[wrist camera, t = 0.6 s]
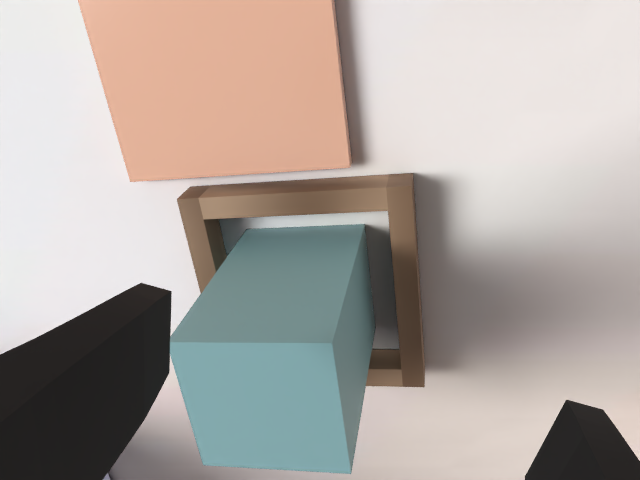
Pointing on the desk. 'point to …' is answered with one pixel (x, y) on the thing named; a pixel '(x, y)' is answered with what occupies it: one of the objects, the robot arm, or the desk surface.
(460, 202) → the desk surface
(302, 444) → the teal block
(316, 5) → the terracotta tile
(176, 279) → the desk surface
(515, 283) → the desk surface
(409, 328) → the pocket frame
